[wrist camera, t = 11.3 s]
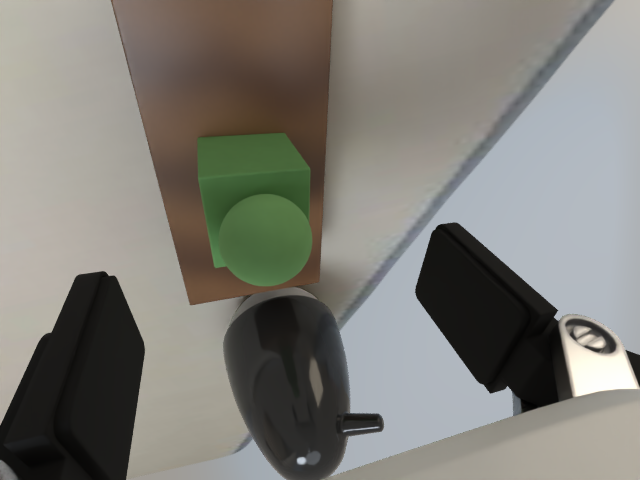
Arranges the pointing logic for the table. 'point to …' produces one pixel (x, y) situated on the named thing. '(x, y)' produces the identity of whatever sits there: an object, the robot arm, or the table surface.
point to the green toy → (256, 205)
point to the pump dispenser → (293, 382)
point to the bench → (227, 106)
